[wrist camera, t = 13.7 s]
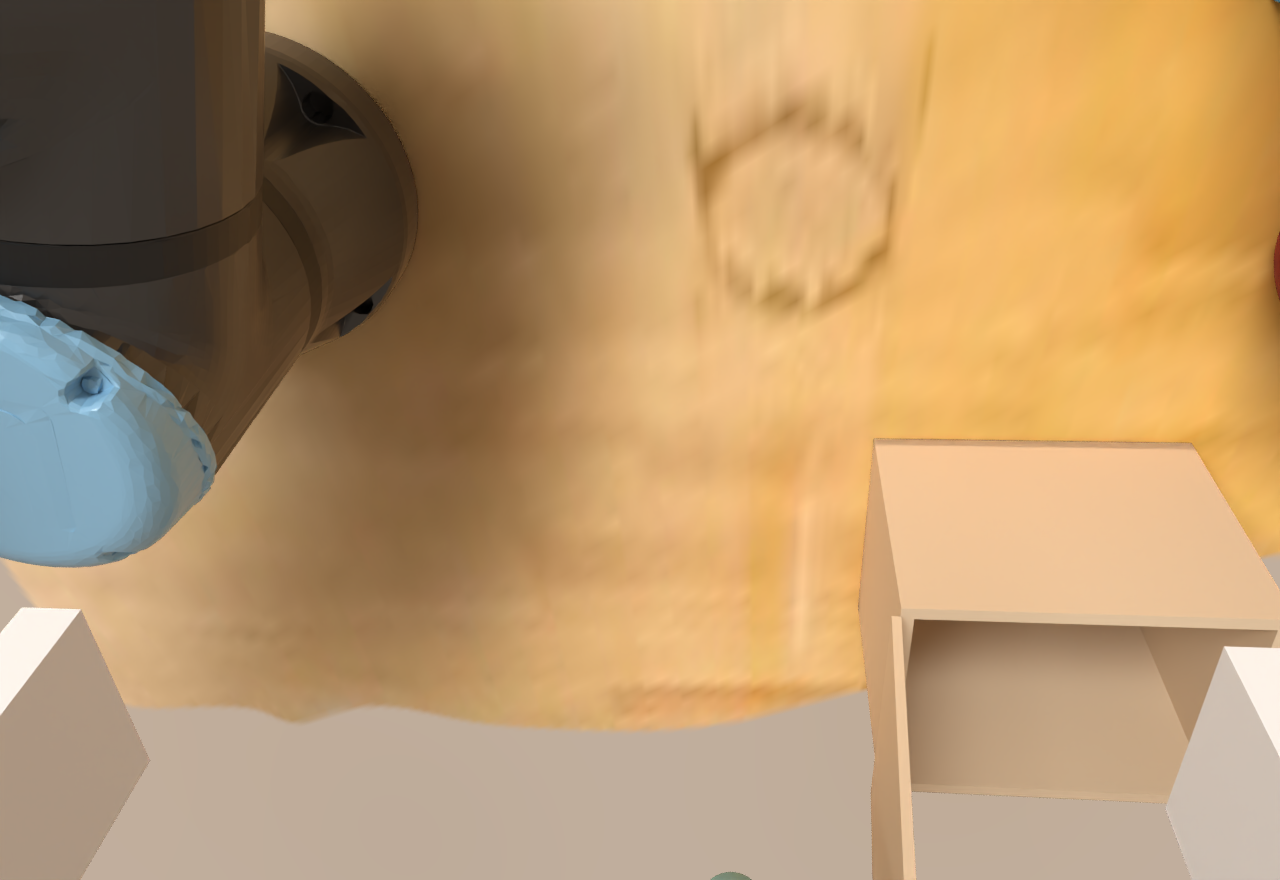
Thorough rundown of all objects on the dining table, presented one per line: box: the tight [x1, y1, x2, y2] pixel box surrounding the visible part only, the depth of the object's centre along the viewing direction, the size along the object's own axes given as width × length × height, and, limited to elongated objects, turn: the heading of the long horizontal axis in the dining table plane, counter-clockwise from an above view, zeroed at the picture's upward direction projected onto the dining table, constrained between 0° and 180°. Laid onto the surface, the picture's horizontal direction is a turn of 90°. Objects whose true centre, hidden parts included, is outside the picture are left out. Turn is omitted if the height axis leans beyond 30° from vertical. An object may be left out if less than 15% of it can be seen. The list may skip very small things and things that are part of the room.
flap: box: [711, 616, 916, 880], centre depth 43 cm, size 15×12×7 cm
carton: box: [858, 439, 1280, 803], centre depth 53 cm, size 16×12×13 cm
